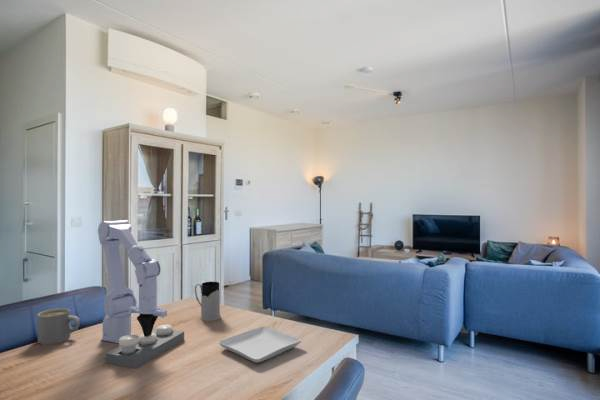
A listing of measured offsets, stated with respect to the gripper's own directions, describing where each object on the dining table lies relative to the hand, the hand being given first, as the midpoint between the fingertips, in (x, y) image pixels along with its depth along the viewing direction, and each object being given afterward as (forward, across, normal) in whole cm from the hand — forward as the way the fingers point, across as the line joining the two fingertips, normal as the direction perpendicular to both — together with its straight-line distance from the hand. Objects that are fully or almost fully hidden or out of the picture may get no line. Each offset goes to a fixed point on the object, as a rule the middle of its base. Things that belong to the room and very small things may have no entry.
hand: (147, 335), depth 125 cm
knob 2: (+5, 0, 0) cm, 5 cm away
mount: (+5, 0, 0) cm, 5 cm away
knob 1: (+3, 0, +8) cm, 9 cm away
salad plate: (+6, -36, -14) cm, 39 cm away
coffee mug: (+5, +38, +3) cm, 38 cm away
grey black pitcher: (+5, +1, -37) cm, 37 cm away
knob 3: (+5, 0, -8) cm, 10 cm away
